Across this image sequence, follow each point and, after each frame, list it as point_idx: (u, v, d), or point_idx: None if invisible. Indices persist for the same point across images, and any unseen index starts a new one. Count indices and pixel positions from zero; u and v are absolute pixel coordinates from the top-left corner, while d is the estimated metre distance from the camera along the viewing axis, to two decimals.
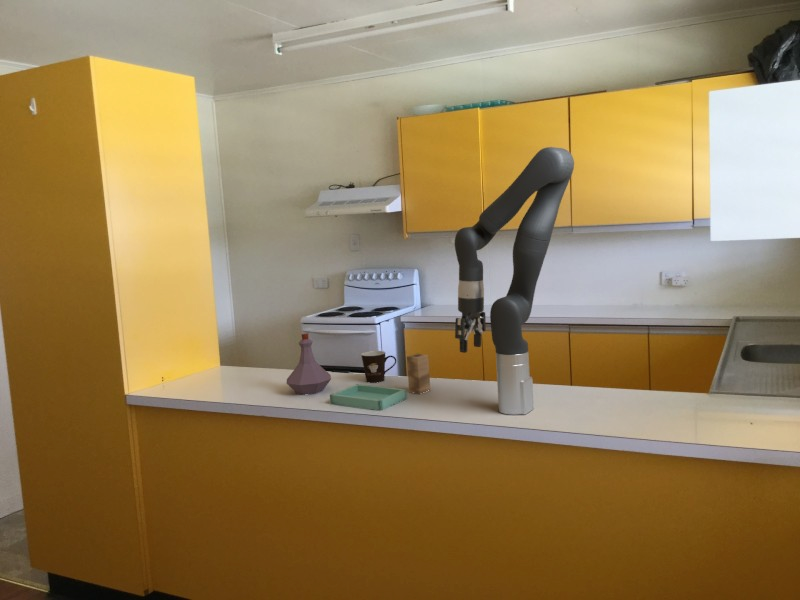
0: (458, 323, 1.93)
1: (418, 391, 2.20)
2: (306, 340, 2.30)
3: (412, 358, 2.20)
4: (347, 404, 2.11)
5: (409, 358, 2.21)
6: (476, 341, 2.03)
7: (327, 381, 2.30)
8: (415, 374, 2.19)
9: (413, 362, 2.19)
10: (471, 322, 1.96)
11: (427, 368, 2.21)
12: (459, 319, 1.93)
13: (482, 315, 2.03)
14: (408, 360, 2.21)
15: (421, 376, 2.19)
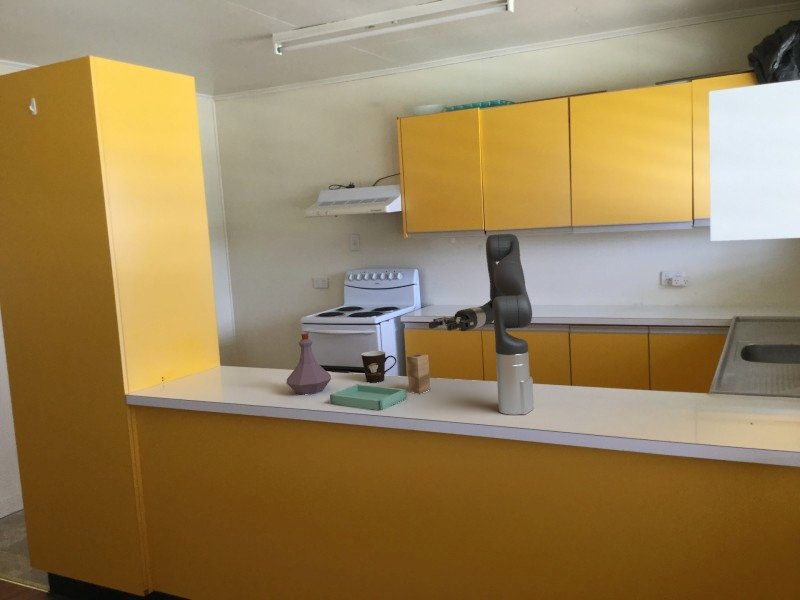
0: None
1: (418, 391, 2.20)
2: (306, 340, 2.30)
3: (412, 358, 2.20)
4: (347, 404, 2.11)
5: (409, 358, 2.21)
6: None
7: (327, 381, 2.30)
8: (415, 374, 2.19)
9: (413, 362, 2.19)
10: None
11: (427, 368, 2.21)
12: None
13: None
14: (408, 360, 2.21)
15: (421, 376, 2.19)
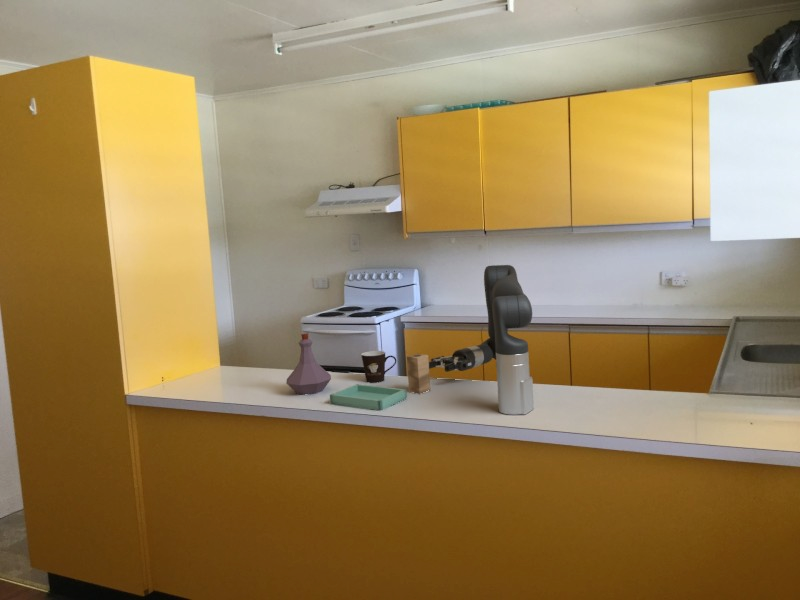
0: None
1: (418, 391, 2.20)
2: (306, 340, 2.30)
3: (412, 358, 2.20)
4: (347, 404, 2.11)
5: (409, 358, 2.21)
6: None
7: (327, 381, 2.30)
8: (415, 374, 2.19)
9: (413, 362, 2.19)
10: None
11: (427, 368, 2.21)
12: None
13: None
14: (408, 360, 2.21)
15: (421, 376, 2.19)
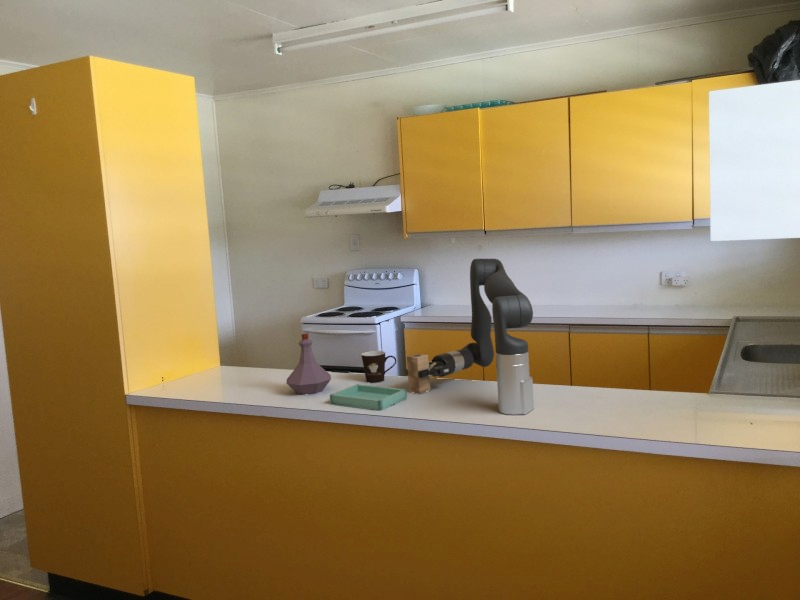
0: None
1: (418, 391, 2.20)
2: (306, 340, 2.30)
3: (412, 358, 2.20)
4: (347, 404, 2.11)
5: (409, 358, 2.21)
6: None
7: (327, 381, 2.30)
8: (415, 374, 2.19)
9: (413, 362, 2.19)
10: None
11: (427, 368, 2.21)
12: None
13: None
14: (408, 360, 2.21)
15: None
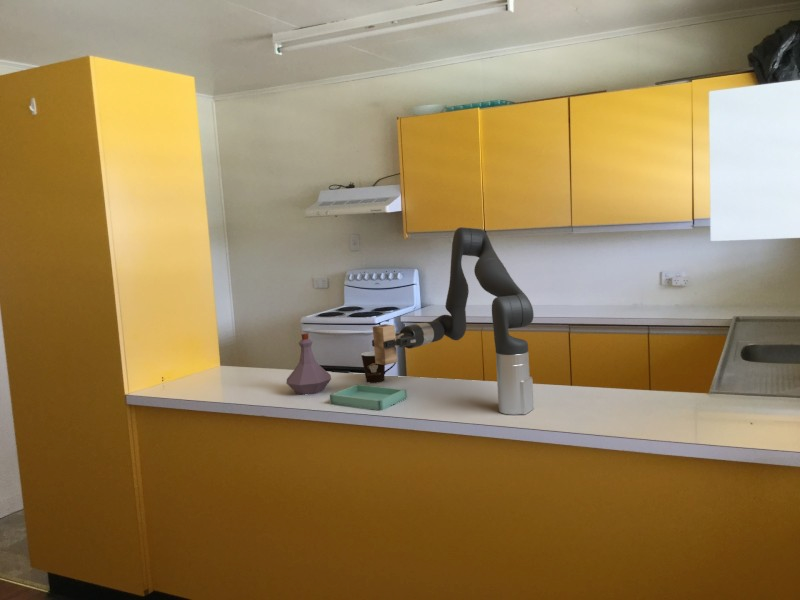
0: None
1: (384, 362, 2.14)
2: (306, 340, 2.30)
3: (378, 328, 2.14)
4: (347, 404, 2.11)
5: (375, 328, 2.15)
6: None
7: (327, 381, 2.30)
8: (381, 344, 2.14)
9: (379, 332, 2.14)
10: None
11: (393, 338, 2.15)
12: None
13: None
14: (374, 330, 2.15)
15: None
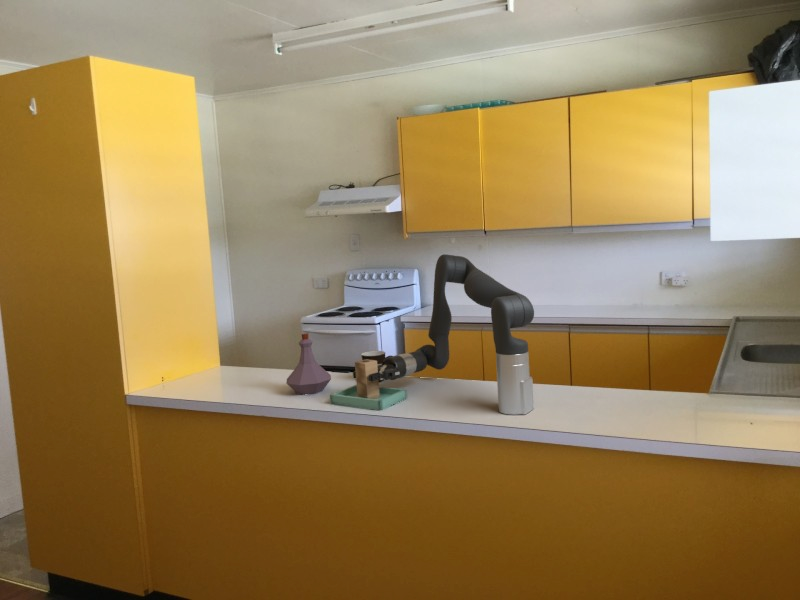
0: None
1: None
2: (306, 340, 2.30)
3: (360, 364, 2.12)
4: (347, 404, 2.11)
5: (357, 364, 2.13)
6: None
7: (327, 381, 2.30)
8: (363, 380, 2.11)
9: (361, 368, 2.11)
10: None
11: None
12: None
13: None
14: (356, 366, 2.13)
15: (369, 382, 2.11)
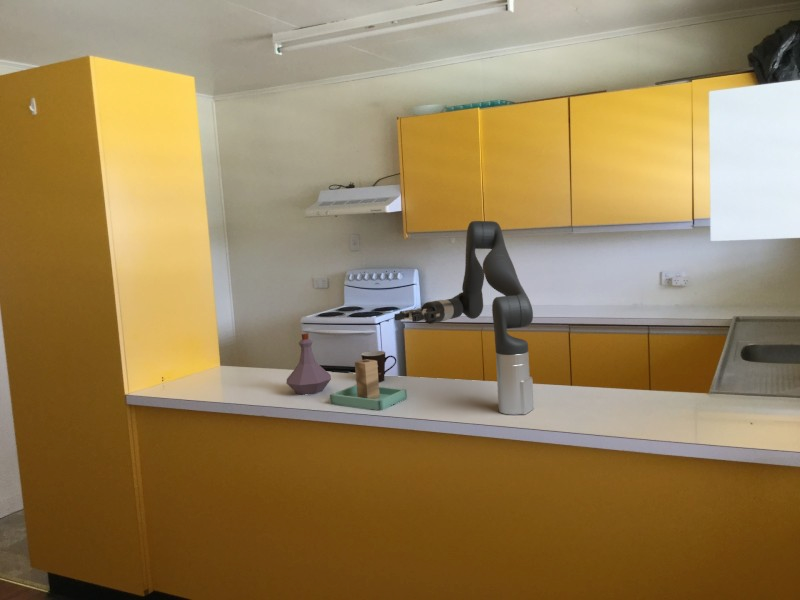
0: None
1: None
2: (306, 340, 2.30)
3: (360, 364, 2.12)
4: (347, 404, 2.11)
5: (357, 364, 2.13)
6: None
7: (327, 381, 2.30)
8: (363, 380, 2.11)
9: (361, 368, 2.11)
10: None
11: (376, 374, 2.13)
12: None
13: None
14: (356, 366, 2.13)
15: (369, 382, 2.11)
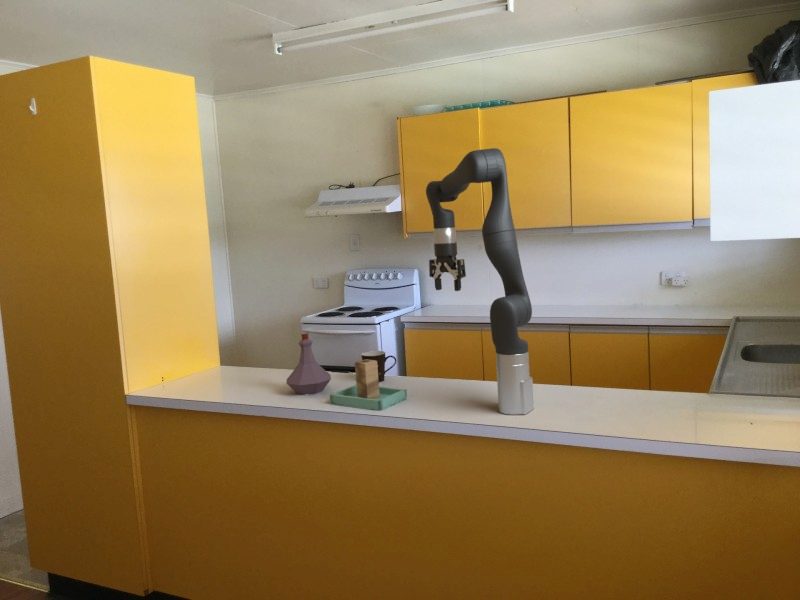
0: None
1: None
2: (306, 340, 2.30)
3: (360, 364, 2.12)
4: (347, 404, 2.11)
5: (357, 364, 2.13)
6: None
7: (327, 381, 2.30)
8: (363, 380, 2.11)
9: (361, 368, 2.11)
10: None
11: (376, 374, 2.13)
12: None
13: None
14: (356, 366, 2.13)
15: (369, 382, 2.11)
